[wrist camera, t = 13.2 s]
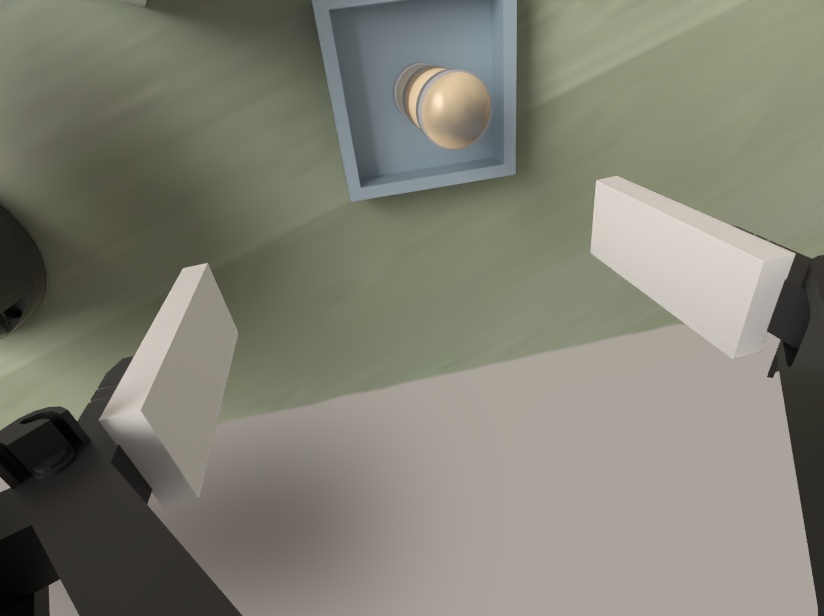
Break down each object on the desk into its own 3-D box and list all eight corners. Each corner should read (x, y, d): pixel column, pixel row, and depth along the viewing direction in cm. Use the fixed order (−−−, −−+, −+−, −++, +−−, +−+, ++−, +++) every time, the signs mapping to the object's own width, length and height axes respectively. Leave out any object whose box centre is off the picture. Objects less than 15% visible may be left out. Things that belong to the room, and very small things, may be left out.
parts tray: (348, 190, 39) (350, 201, 36) (311, -3, 32) (310, -7, 29) (501, 164, 40) (515, 174, 37) (499, -27, 33) (517, -34, 30)
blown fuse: (396, 124, 36) (424, 155, 26) (389, 66, 34) (416, 75, 24) (446, 116, 37) (493, 144, 26) (442, 58, 34) (491, 64, 24)
